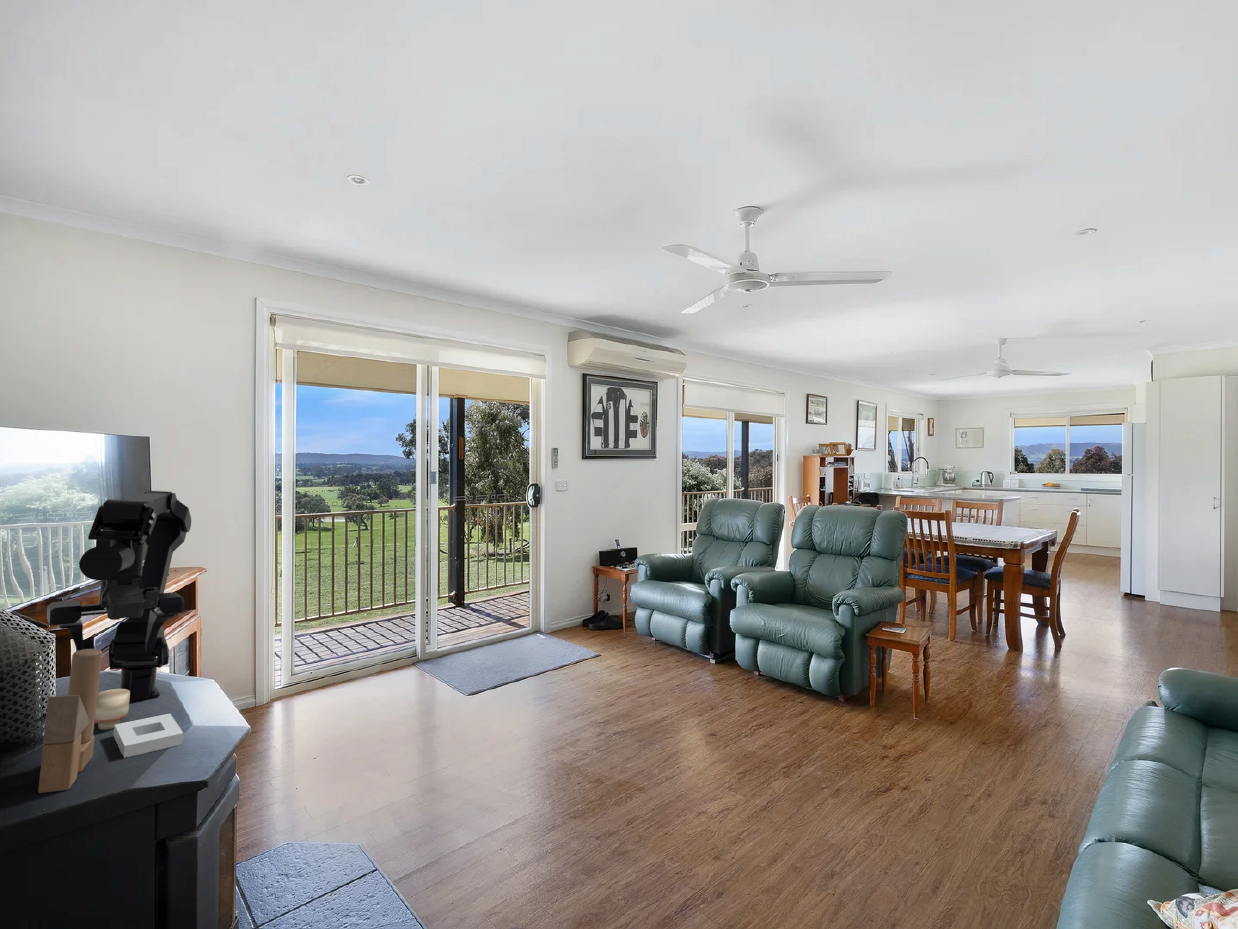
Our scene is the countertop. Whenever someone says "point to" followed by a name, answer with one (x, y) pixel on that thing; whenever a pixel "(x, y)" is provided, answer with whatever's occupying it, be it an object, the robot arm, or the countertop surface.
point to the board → (147, 735)
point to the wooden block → (71, 724)
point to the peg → (111, 707)
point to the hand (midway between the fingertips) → (115, 654)
